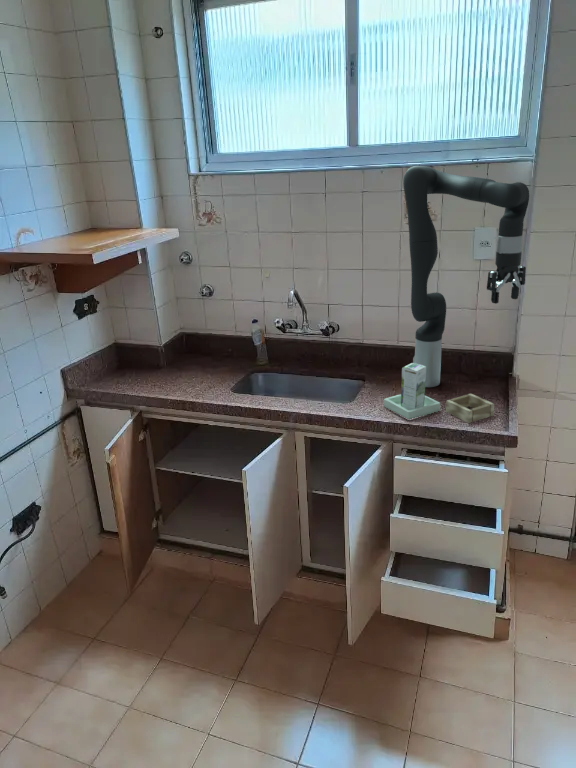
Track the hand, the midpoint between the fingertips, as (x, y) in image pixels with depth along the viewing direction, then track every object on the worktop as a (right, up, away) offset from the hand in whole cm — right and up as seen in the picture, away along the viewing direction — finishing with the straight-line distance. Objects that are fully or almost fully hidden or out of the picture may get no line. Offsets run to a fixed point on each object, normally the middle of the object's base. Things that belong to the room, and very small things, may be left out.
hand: (504, 300), depth 188 cm
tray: (-29, -35, +5) cm, 46 cm away
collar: (-11, -36, 0) cm, 38 cm away
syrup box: (-29, -35, +5) cm, 45 cm away
